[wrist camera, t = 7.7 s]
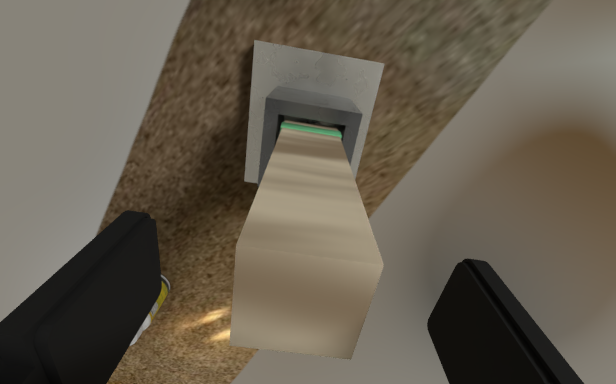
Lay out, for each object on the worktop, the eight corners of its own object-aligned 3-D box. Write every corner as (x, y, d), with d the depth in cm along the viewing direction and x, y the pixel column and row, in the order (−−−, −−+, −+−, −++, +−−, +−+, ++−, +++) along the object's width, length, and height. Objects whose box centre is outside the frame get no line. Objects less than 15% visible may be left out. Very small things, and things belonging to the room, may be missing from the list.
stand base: (258, 40, 28) (232, 35, 19) (379, 63, 28) (411, 67, 19) (247, 174, 34) (224, 218, 25) (348, 189, 34) (361, 238, 25)
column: (284, 117, 22) (232, 241, 8) (338, 126, 22) (388, 263, 8) (277, 168, 24) (226, 347, 9) (327, 176, 24) (353, 361, 10)
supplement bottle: (146, 298, 42) (110, 351, 35) (130, 273, 40) (89, 324, 33) (176, 292, 42) (147, 345, 34) (162, 267, 40) (127, 318, 32)
